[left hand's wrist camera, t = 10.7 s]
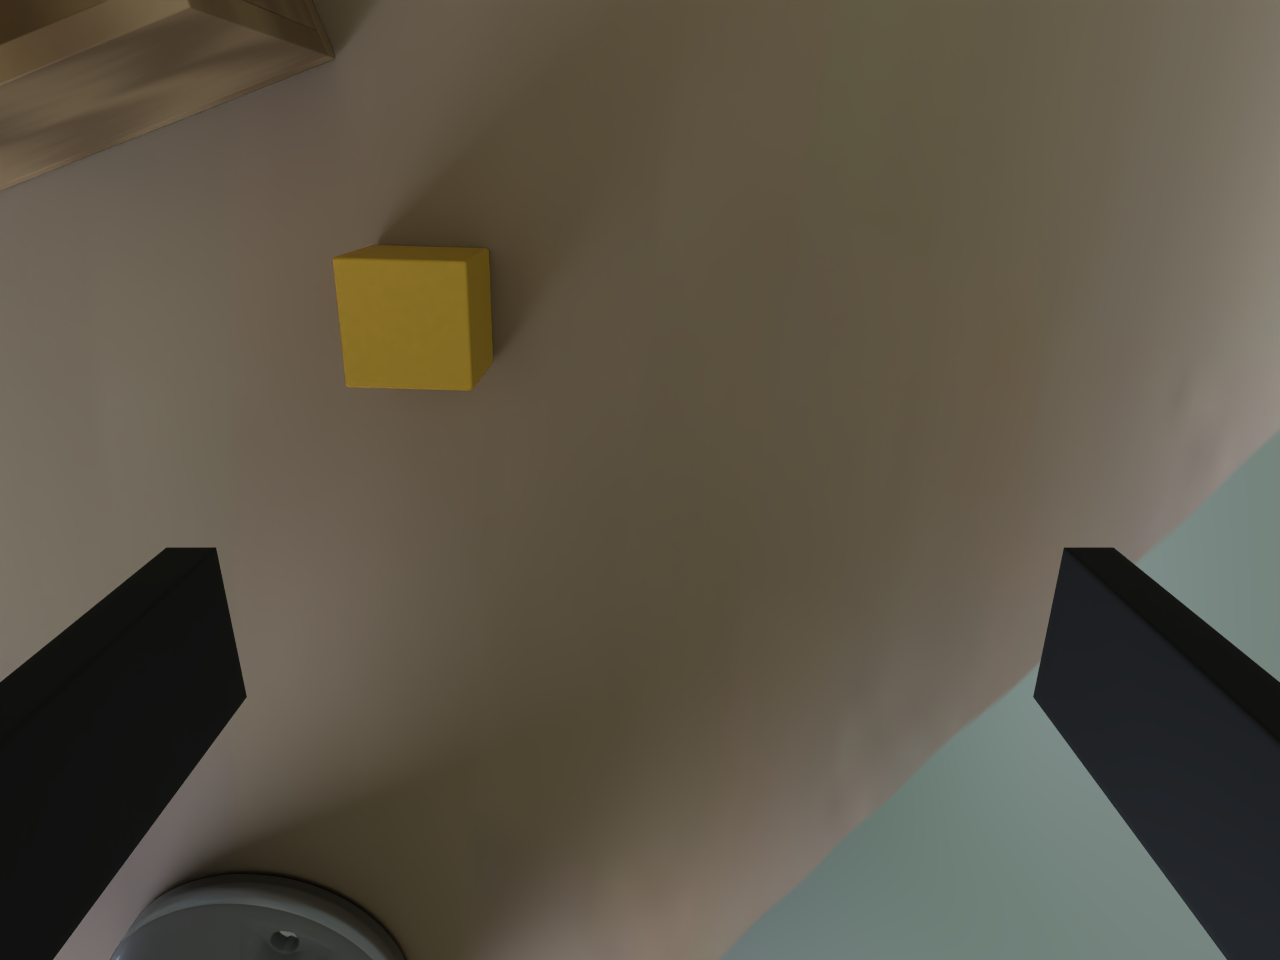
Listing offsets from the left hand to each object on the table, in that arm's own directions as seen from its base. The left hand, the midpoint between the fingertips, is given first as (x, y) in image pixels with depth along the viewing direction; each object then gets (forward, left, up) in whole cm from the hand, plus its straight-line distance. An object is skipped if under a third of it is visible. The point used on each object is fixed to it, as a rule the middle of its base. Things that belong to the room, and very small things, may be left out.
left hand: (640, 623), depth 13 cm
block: (-7, +4, -20) cm, 22 cm away
